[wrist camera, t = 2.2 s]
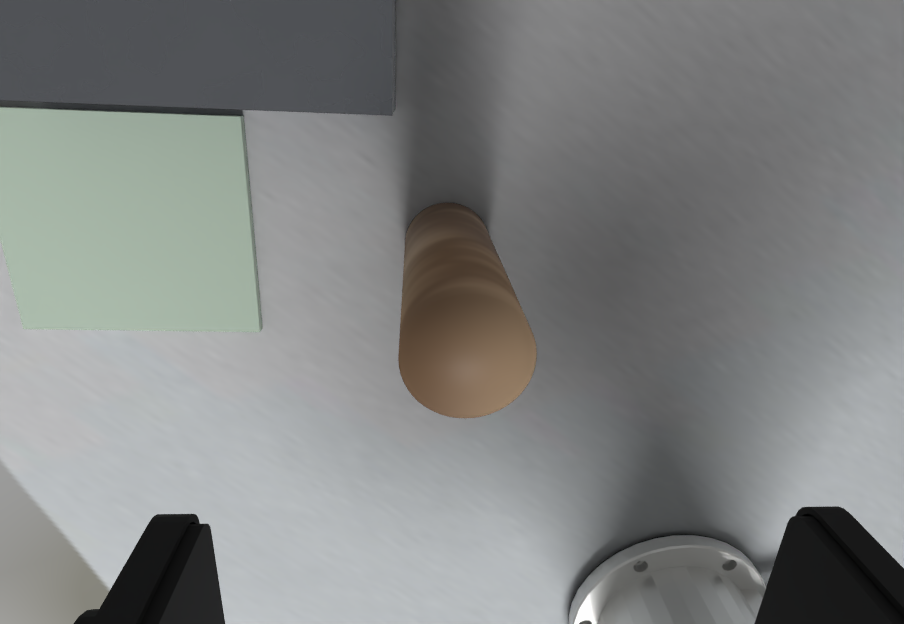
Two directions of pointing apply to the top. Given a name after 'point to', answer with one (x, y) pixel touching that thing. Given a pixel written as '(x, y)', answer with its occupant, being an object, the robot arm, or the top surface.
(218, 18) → the dark grey socket block
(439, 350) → the tan rounded cylinder
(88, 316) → the set down mat
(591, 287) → the top surface
